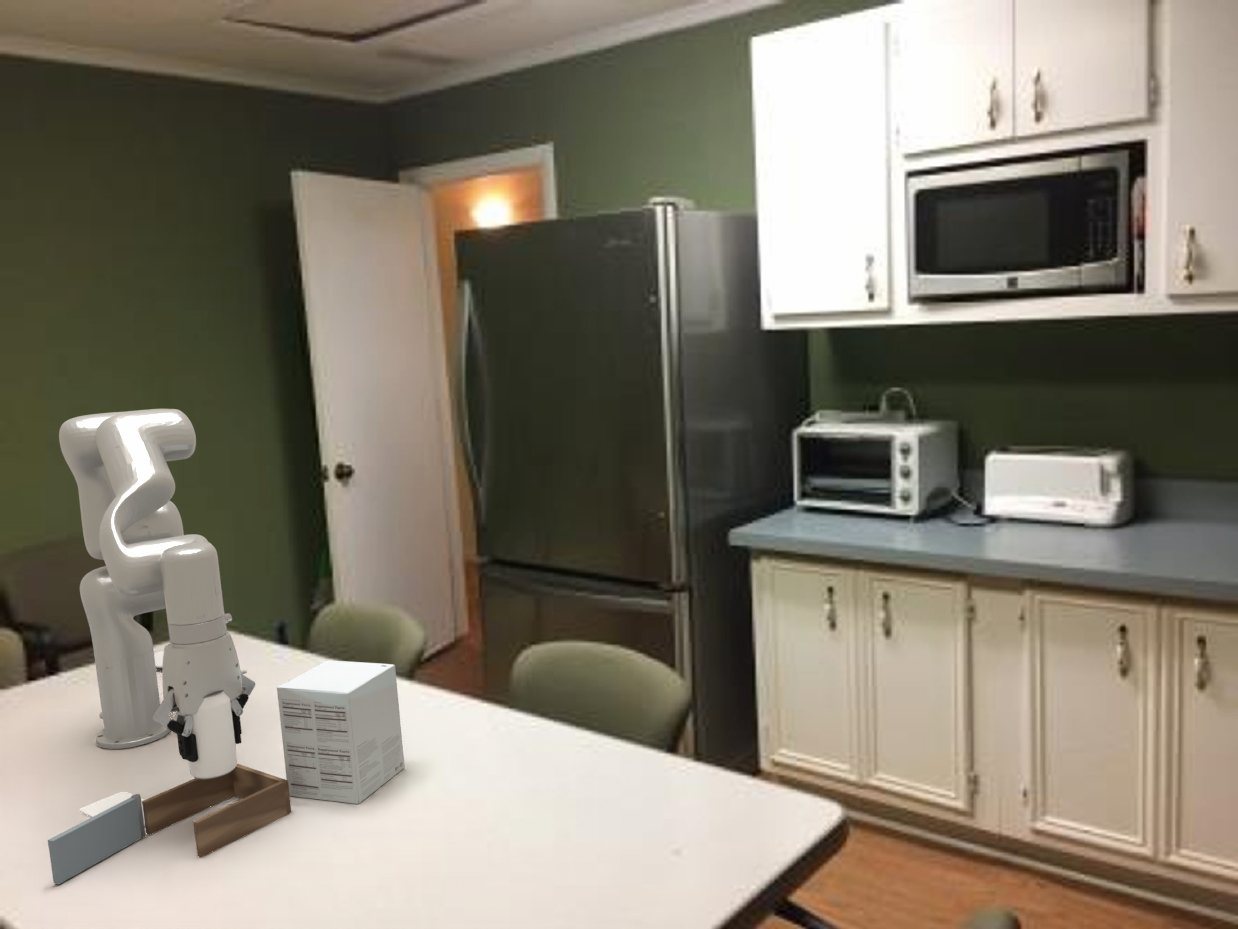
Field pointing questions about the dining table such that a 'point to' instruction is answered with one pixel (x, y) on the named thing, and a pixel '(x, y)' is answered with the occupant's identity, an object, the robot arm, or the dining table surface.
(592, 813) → the dining table surface
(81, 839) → the bin gate
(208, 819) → the bin
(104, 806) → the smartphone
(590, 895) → the dining table surface
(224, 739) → the can
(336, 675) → the supplement box
